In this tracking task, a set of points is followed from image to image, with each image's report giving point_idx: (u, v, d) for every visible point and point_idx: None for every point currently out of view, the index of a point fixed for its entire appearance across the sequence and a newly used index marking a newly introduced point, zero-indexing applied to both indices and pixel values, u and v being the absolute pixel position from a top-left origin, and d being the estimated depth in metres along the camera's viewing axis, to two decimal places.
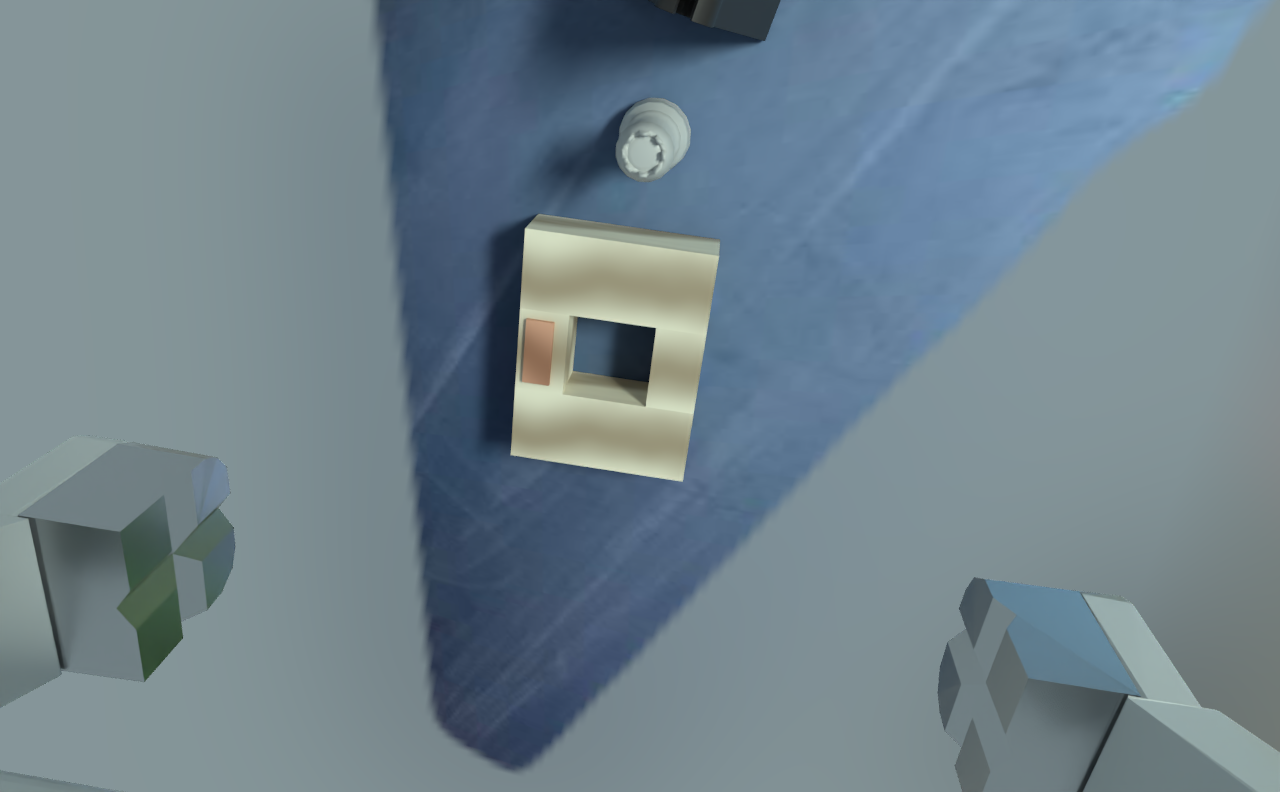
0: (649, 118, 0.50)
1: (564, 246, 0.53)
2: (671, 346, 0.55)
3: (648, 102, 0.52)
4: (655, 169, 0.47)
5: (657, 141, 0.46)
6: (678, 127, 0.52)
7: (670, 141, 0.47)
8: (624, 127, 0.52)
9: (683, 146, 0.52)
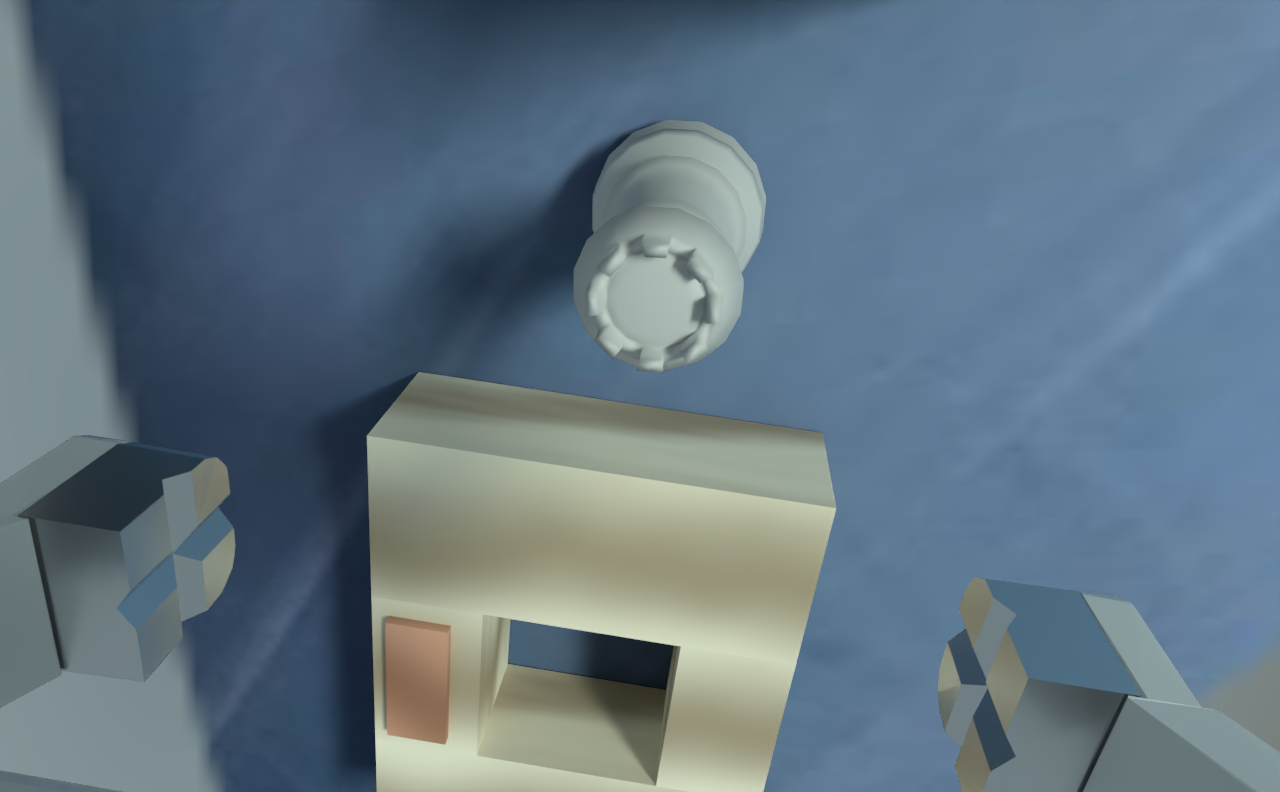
0: (667, 181, 0.19)
1: (461, 476, 0.22)
2: (715, 682, 0.24)
3: (664, 133, 0.20)
4: (688, 348, 0.16)
5: (696, 271, 0.15)
6: (740, 197, 0.20)
7: (733, 264, 0.16)
8: (605, 194, 0.21)
9: (751, 242, 0.21)
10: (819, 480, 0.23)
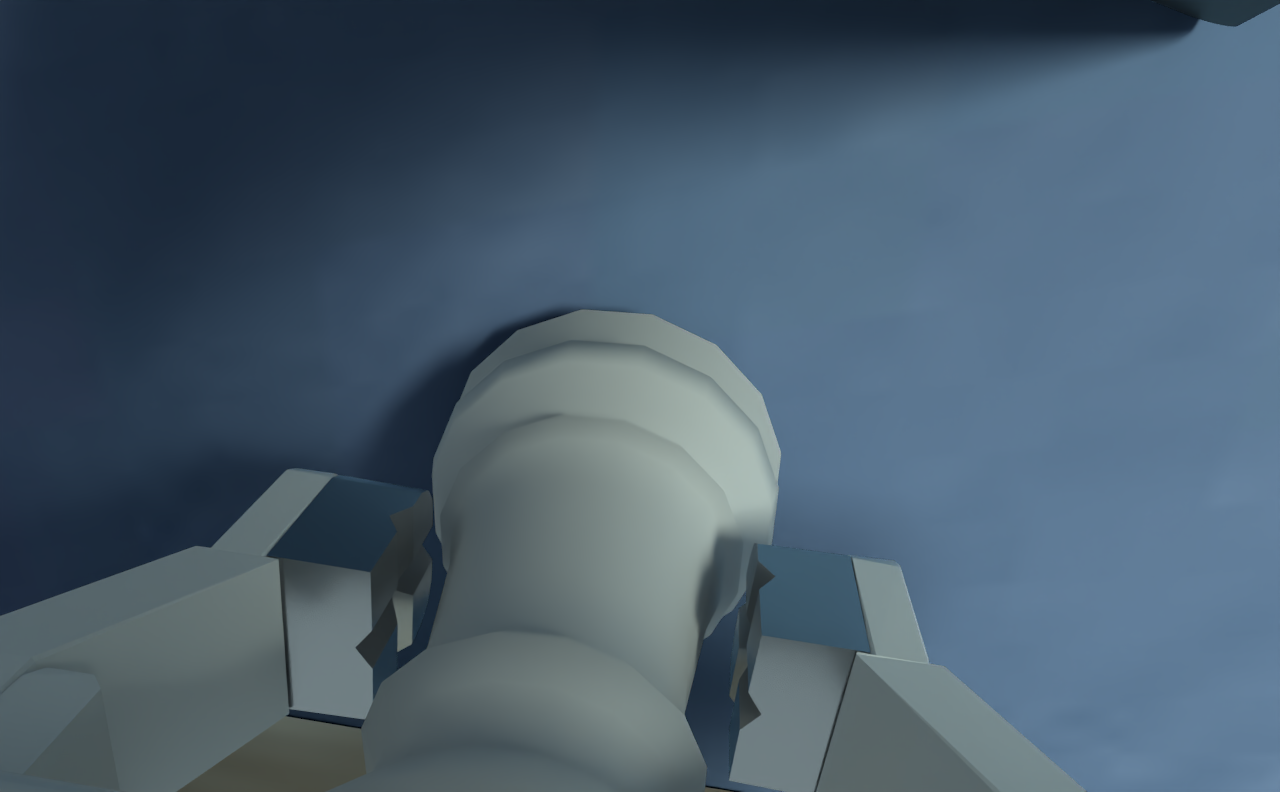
0: (562, 496, 0.08)
1: None
2: None
3: (569, 355, 0.10)
4: None
5: None
6: (730, 494, 0.10)
7: None
8: (449, 473, 0.10)
9: None
10: None
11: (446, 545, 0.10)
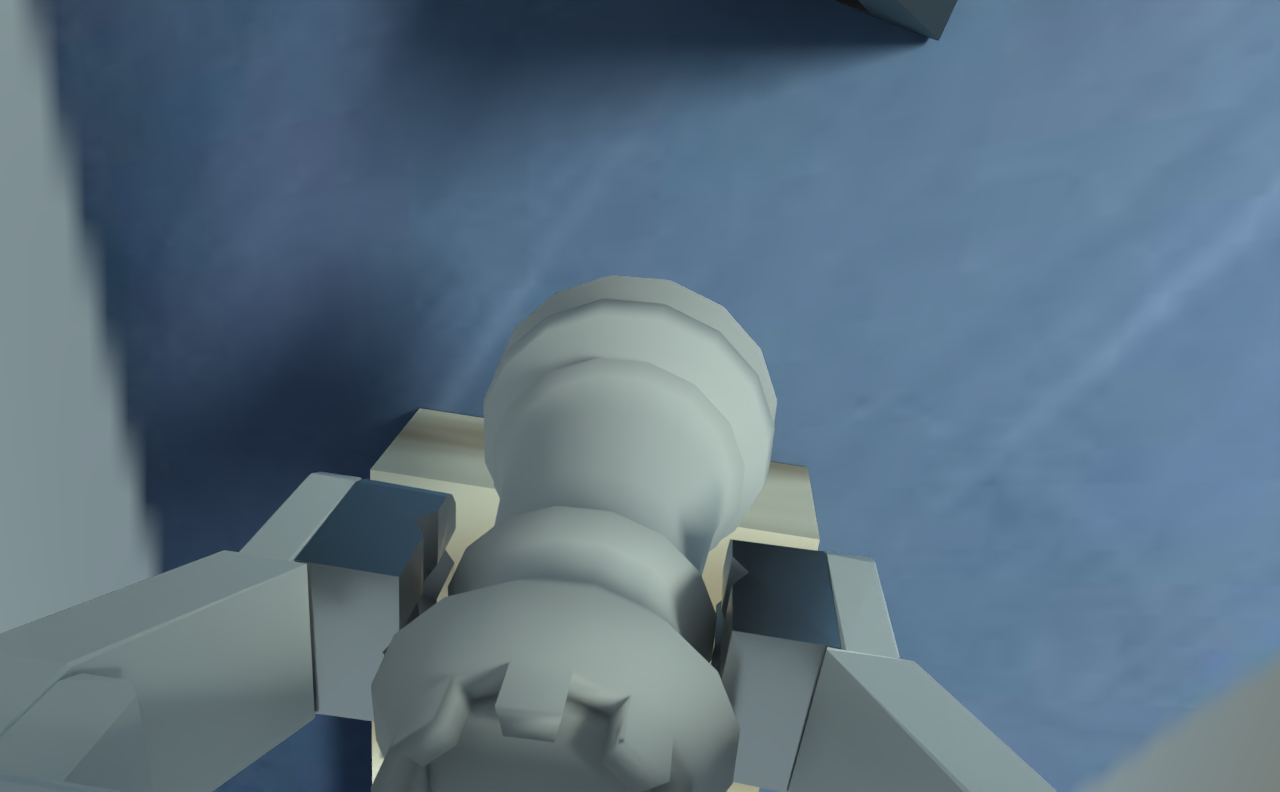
0: (600, 419, 0.10)
1: (461, 508, 0.23)
2: None
3: (602, 310, 0.12)
4: None
5: (627, 771, 0.06)
6: (734, 427, 0.12)
7: (716, 704, 0.07)
8: (500, 410, 0.12)
9: (751, 491, 0.12)
10: (803, 513, 0.24)
11: (497, 468, 0.12)
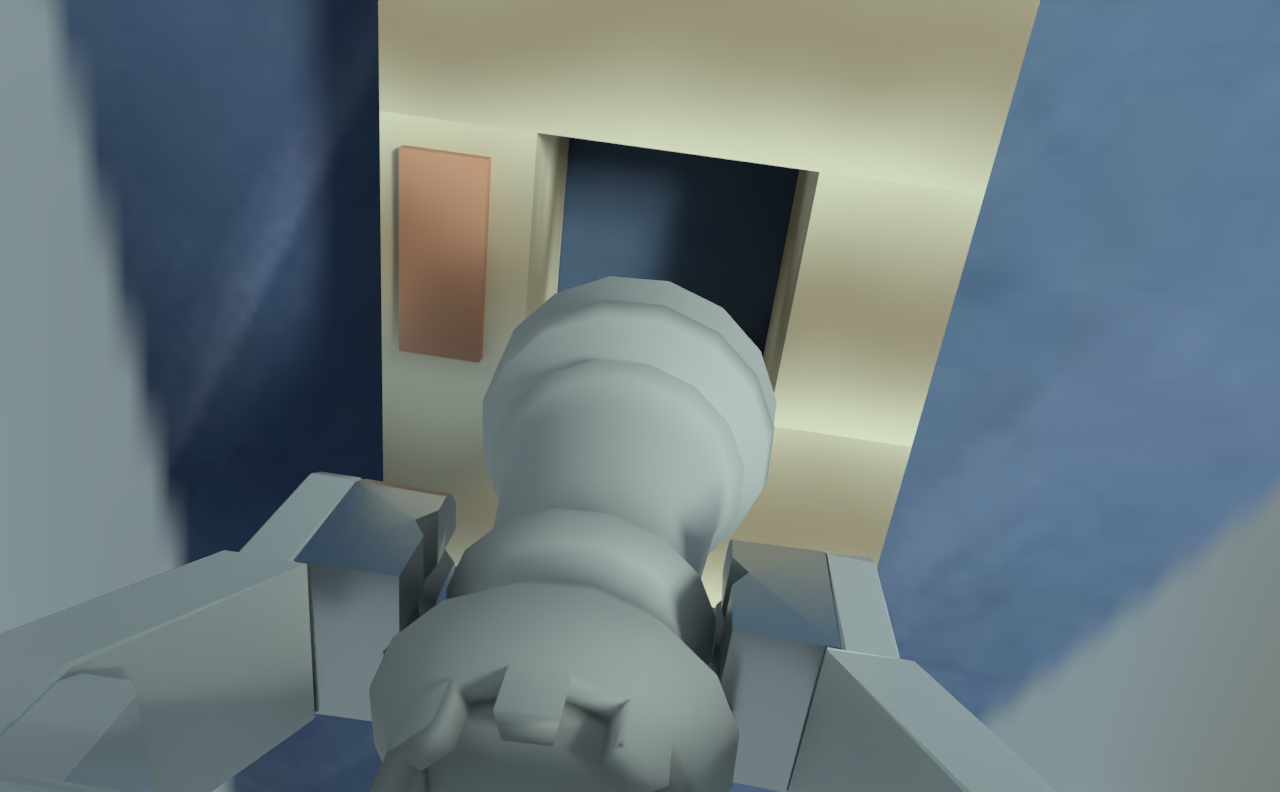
0: (598, 421, 0.10)
1: None
2: (864, 234, 0.17)
3: (601, 312, 0.12)
4: None
5: (625, 775, 0.06)
6: (734, 428, 0.12)
7: (715, 708, 0.07)
8: (499, 411, 0.12)
9: (751, 492, 0.12)
10: None
11: (496, 469, 0.12)
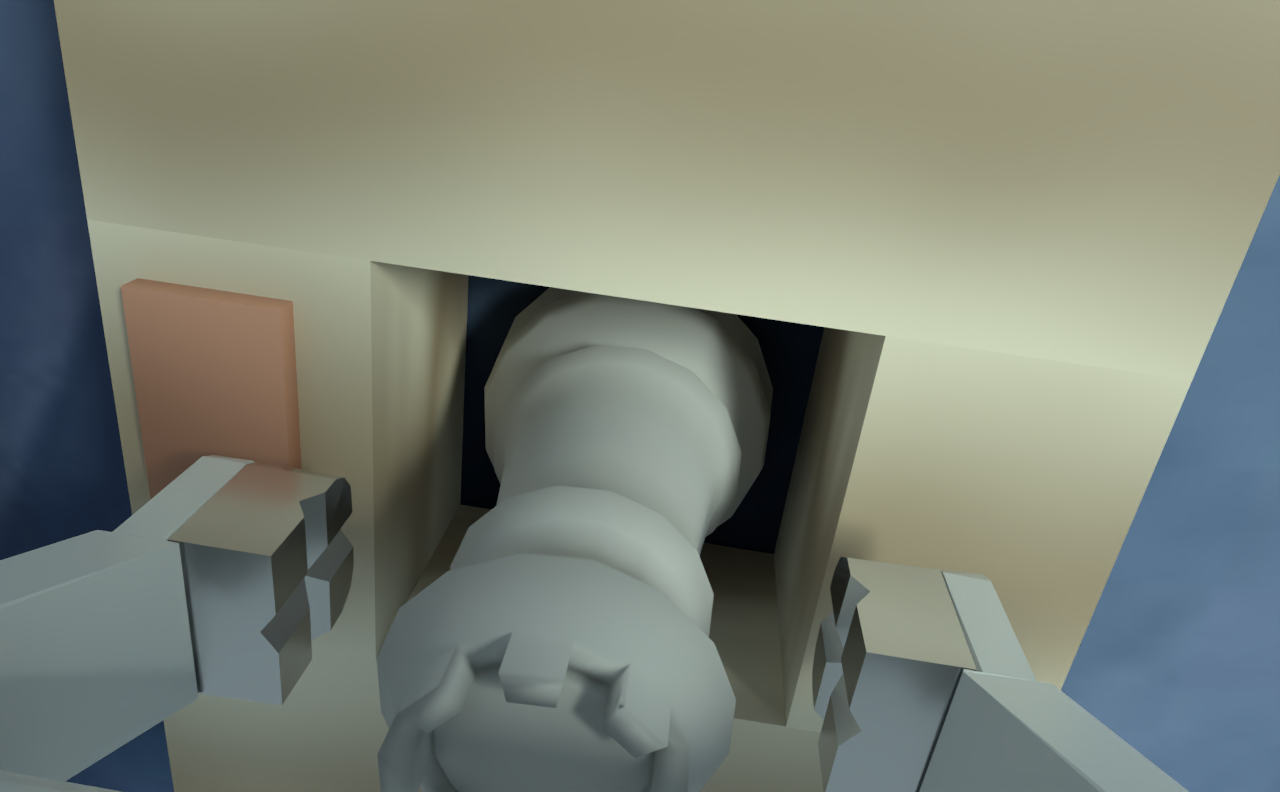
0: (599, 405, 0.10)
1: None
2: (964, 442, 0.10)
3: (601, 299, 0.12)
4: None
5: (626, 736, 0.07)
6: (731, 413, 0.12)
7: (713, 675, 0.07)
8: (500, 397, 0.12)
9: (748, 477, 0.12)
10: None
11: (498, 454, 0.12)
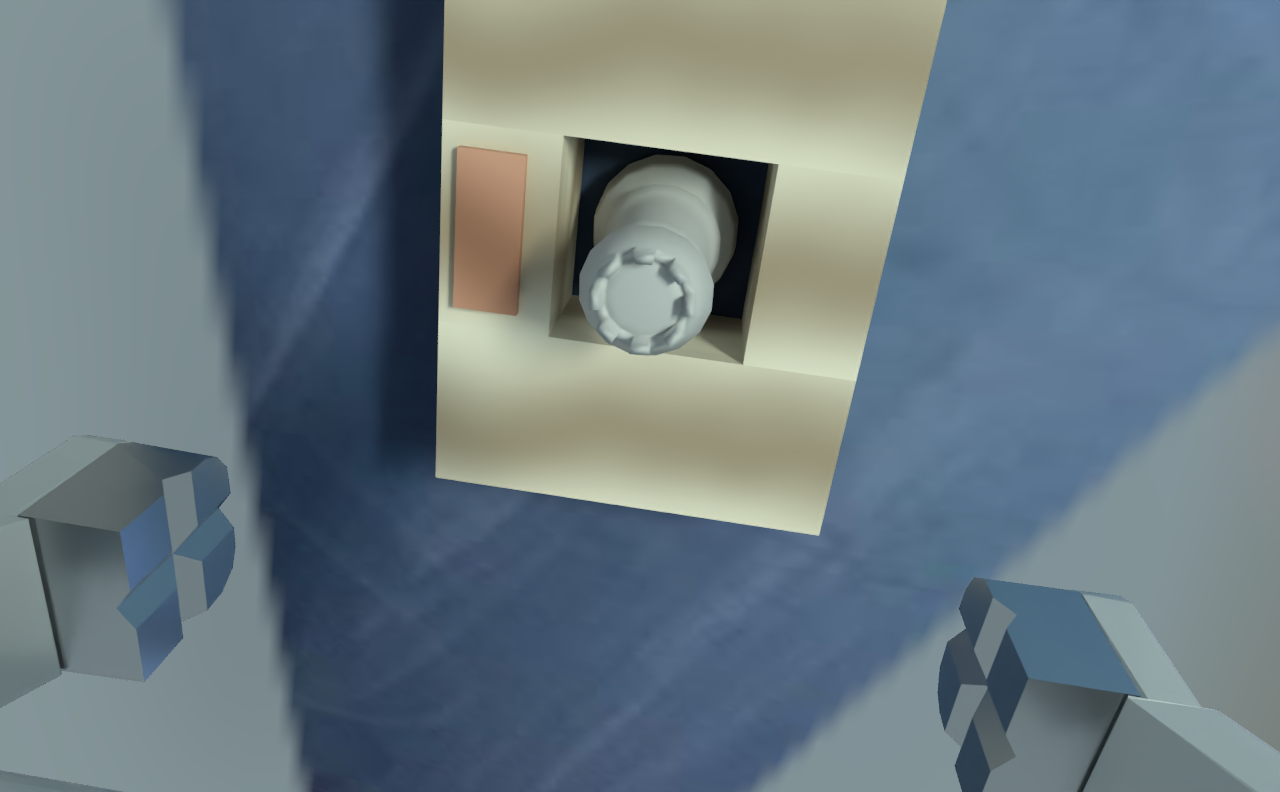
0: (656, 205, 0.23)
1: None
2: (814, 212, 0.23)
3: (654, 166, 0.25)
4: (670, 336, 0.20)
5: (675, 275, 0.20)
6: (716, 219, 0.25)
7: (705, 271, 0.20)
8: (604, 216, 0.25)
9: (725, 256, 0.25)
10: None
11: None
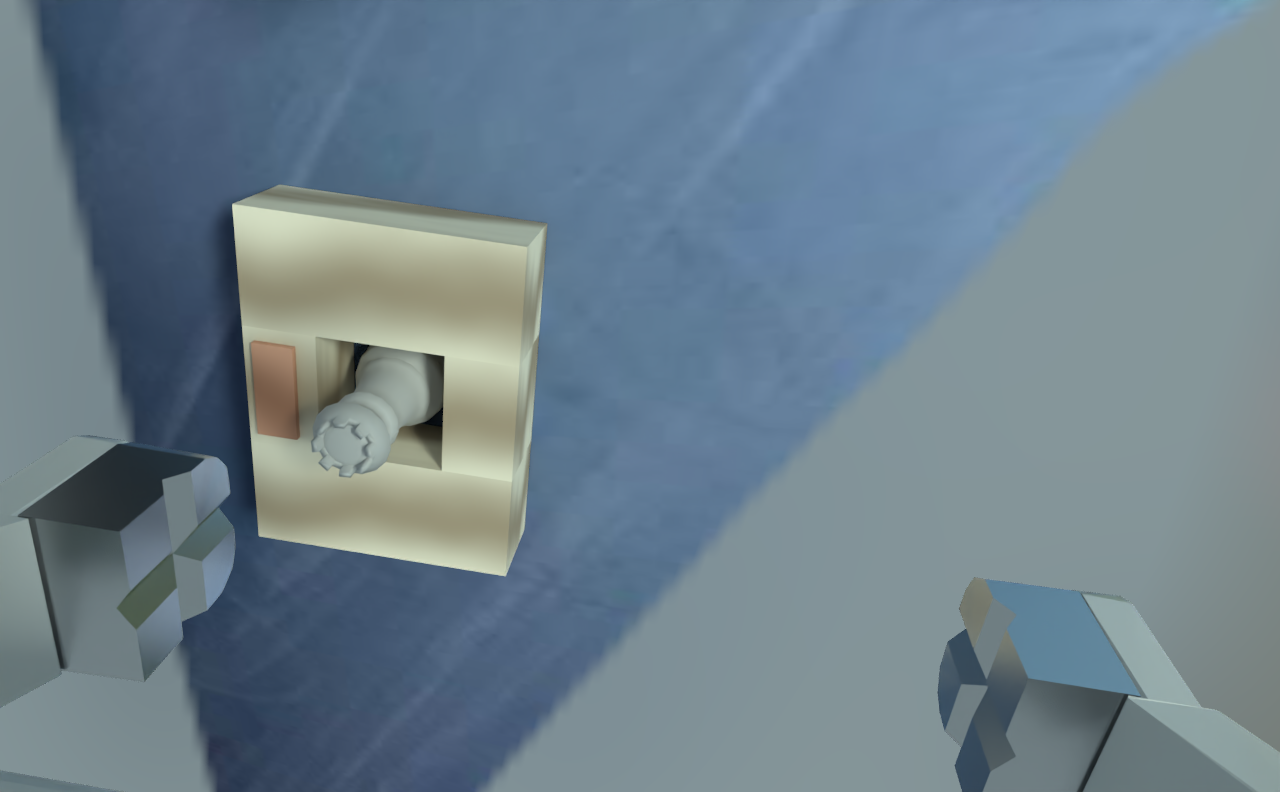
0: (379, 373, 0.38)
1: (293, 231, 0.35)
2: (470, 383, 0.37)
3: None
4: (360, 467, 0.35)
5: (358, 434, 0.34)
6: (426, 377, 0.39)
7: (382, 428, 0.35)
8: (359, 373, 0.40)
9: (437, 398, 0.40)
10: (526, 238, 0.35)
11: None
